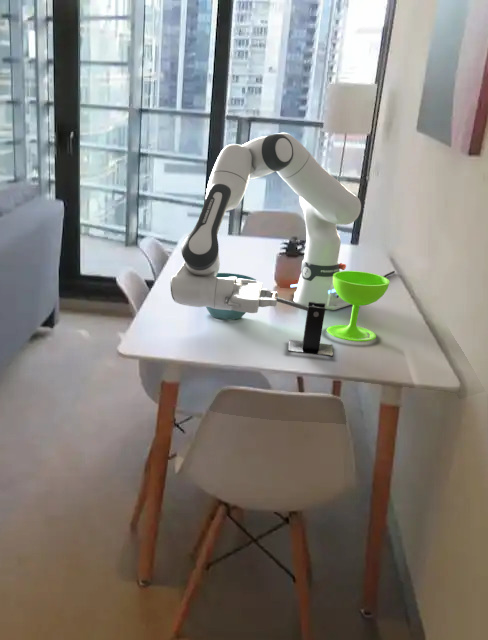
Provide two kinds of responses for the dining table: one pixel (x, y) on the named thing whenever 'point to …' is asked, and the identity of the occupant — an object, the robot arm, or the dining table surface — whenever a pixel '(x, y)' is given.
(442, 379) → the dining table surface
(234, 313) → the teal ceramic bowl
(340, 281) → the wineglass
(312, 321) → the bracket
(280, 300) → the lever
